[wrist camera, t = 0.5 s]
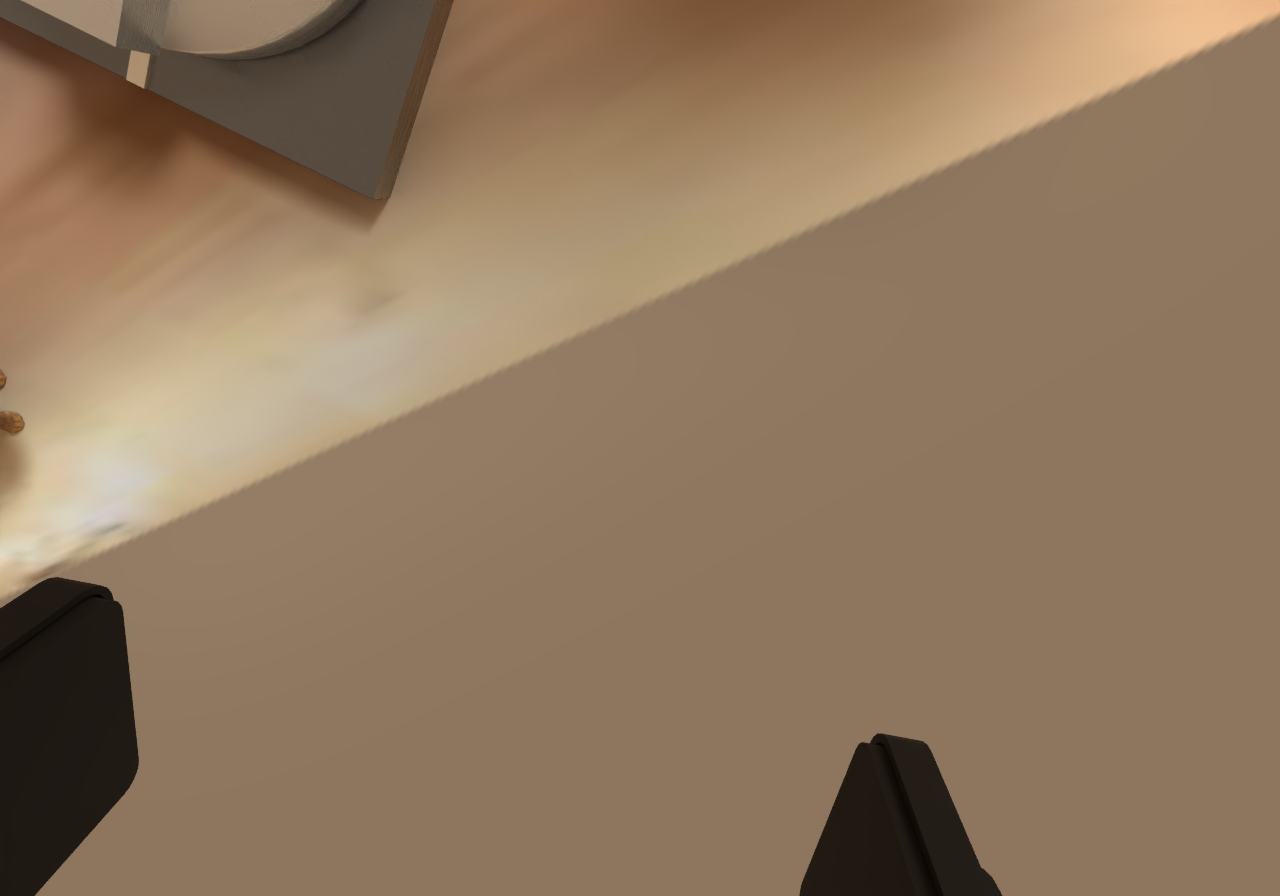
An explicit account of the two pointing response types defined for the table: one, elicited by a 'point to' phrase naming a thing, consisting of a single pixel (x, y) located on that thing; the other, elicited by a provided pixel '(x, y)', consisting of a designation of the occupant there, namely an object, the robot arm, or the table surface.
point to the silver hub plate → (202, 24)
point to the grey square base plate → (295, 86)
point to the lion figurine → (10, 415)
